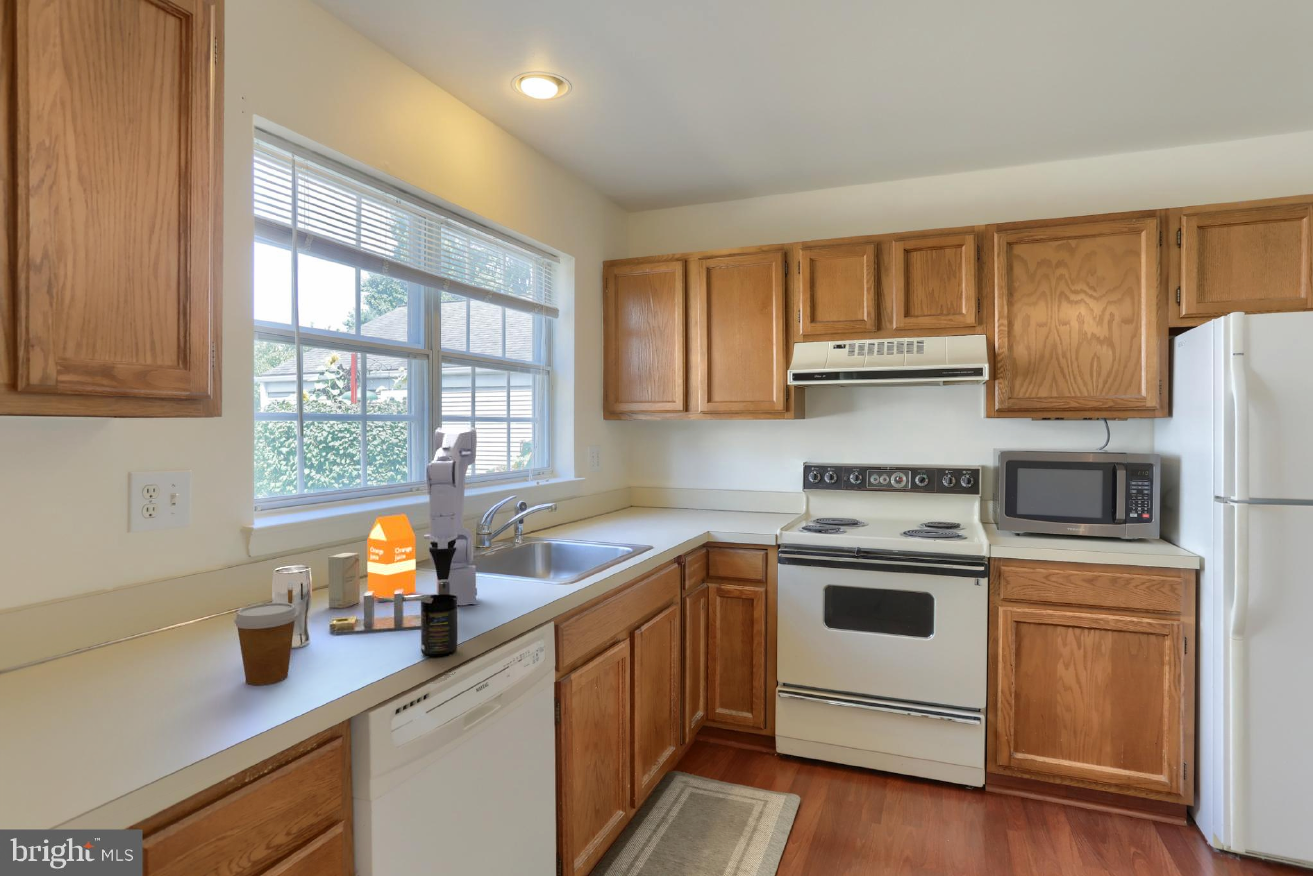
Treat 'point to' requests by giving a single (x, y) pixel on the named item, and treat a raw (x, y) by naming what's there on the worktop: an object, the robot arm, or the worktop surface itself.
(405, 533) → the orange juice
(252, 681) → the disposable coffee cup
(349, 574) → the skincare box
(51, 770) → the worktop surface
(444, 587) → the shaft
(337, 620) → the block
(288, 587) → the beer glass
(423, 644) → the supplement container
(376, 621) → the bracket
